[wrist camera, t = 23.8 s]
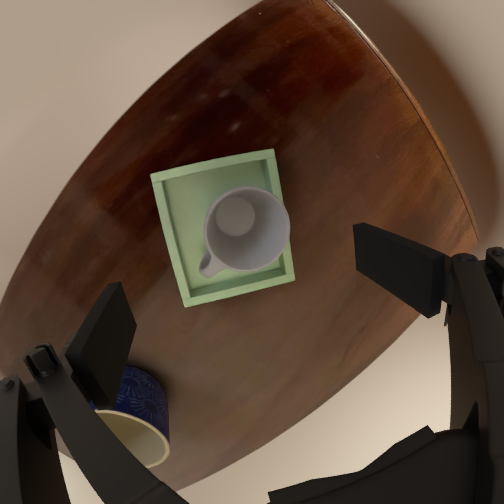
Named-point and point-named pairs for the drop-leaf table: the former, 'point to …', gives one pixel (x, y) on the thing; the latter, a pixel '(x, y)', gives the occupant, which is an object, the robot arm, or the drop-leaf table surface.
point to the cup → (244, 231)
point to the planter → (140, 417)
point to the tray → (193, 216)
